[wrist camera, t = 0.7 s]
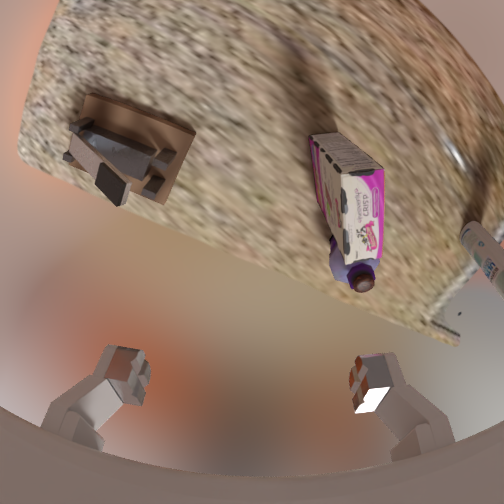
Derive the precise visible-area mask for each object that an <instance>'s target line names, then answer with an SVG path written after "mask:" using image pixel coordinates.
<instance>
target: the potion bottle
mask: <svg viewBox="0 0 504 504" xmlns="http://www.w3.org/2000/svg"><path fill="white" fill-rule="evenodd" d="M329 241H330V243H331V252H330V254H329V266H330V268H331V271H332V273H333V276H334V278H335V280H337V281H341V282H345V283H349V284H350V287H351V289H354V290H355V291H356V292H360V293H362V292H367V291H369V290H370V289H372V288H373V286H374V280H375V274H374V270H375V269H376V267H377V266H378V264H379V263H380V260H379V258H378V259H374V260H372V259H369V260H367V261H361V262H356V263H352V264H347V265H345V262H344V260H343V257H342V255H341V253H340V250H339V248H338V245H337V243H336V241H335V239H334V236H333V235H332V236H331V238H330V240H329Z"/></svg>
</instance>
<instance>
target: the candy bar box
mask: <svg viewBox="0 0 504 504" xmlns="http://www.w3.org/2000/svg"><path fill="white" fill-rule="evenodd" d="M309 142H310V149H311V156H312V163H313V170H314V178H315V186H316V194H317V202H318V203H319V205H320V208H321V210H322V212H323V214H324V216H325V218H326V221H327V223H328V225H329V227H330V230H331V232H332V234H333V236H334V239H335V241H336V243H337V245H338V248H339V250H340V253H341V255H342V257H343V260H344V262H345V265H347V264H352V263H356V262H361V261H367V260H369V259H372V260H374V259H378V258H381V257H382V256H383V236H384V212H385V169H384V168H383V167H382V166H381V165H380V164H378V163H377V162H376V161H375V160H373V159H372V158H371V157H370V156H369V155H367V154H366V153H365V152H364V151H362V150H361V149H360V148H359V147H357V146H356V145H355V144H354V143H352V142H351V141H350V140H348V139H347V138H346V137H345V136H343V135H342V134H341V133H339V132H335V133H328V134H318V135H310V136H309Z"/></svg>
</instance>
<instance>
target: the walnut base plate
mask: <svg viewBox="0 0 504 504" xmlns="http://www.w3.org/2000/svg"><path fill="white" fill-rule="evenodd" d="M84 117H89V118H92V119H95V121H94V124H93V125H96V126H99V127H102V128H104V129H107V130H109V131H112V132H115V133H117V134H120V135H122V136H125V137H127V138H130V139H132V140H135V141H137V142H140V143H142V144H144V145H147V146H149V147H152V148H154V149H157V150H158V151H157V153H156V156H157V155H158V154H159V152H160V151H161V150H162V149H163V148H164V147H165V148H168V149H170V150H172V151H175V152H177V154H176V157H175V159H174V160H173V161H172V163H171V164H170V165H169V167H168V168H167V169H166V171H164V170H162V169H160V168H157V167H155V166H153V165H152V166H151V169H150V171H149V174H148V175H147V176H146V177H145V179H144V180H143V181H140V180H138V179H135V178H133V177H131V176H128V175H126V174H124V173H122V174H124V175H125V176H126V177H127V178H128V179H129V180H130V181H131V182H132V185H131V188H130V191H132V192H134V193H136V194H139V195H141V192H142V190H143V188H144V186H145V185H146V184H147V182H148V181H149V180H150V179H151V177H152V176H153V175H156V176H159V177H161V178H163V179H166V180H165V183H164V185H163V187H162V188H161V190H160V191H159V193H158V194H157V196H156V198H155V199H154V200H153V199H150V198H148V197H146V196H143V195H141V196H143V197H146V198H148V199H150V200H153V201H155V202H157V203H160V204H162V205H164V204H165V202H166V201H167V198H168V196H169V194H170V191H171V189H172V186H173V184H174V182H175V179H176V177H177V175H178V172H179V170H180V168H181V166H182V163H183V161H184V159H185V157H186V154H187V152H188V150H189V148H190V146H191V144H192V142H193V139H194V137H195V135H196V133H195V132H193V131H191V130H188V129H186V128H184V127H181V126H179V125H177V124H174V123H172V122H170V121H167V120H165V119H162V118H160V117H157V116H155V115H152V114H150V113H147V112H145V111H142V110H139V109H137V108H134V107H131V106H129V105H126V104H123V103H121V102H118V101H115V100H112V99H109V98H106V97H103V96H100V95H98V94H95V93H91V94H88V95H86V98H85V101H84V104H83V108H82V111H81V115H80V118H79V120H80V119H82V118H84ZM79 134H80V135H81V136H82V137H83V134H84V131H82V132H80V133H79ZM156 156H155V157H156ZM69 165H71V166H73V167H76V168H78V169H80V170H83V171H85V172H87V171H86V170H85V169H84V167H83V166H82V165H81V164H80V163H79V162H78V161H77V160H74V161H73V162H72V163H70V162H69ZM87 173H88V172H87Z"/></svg>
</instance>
